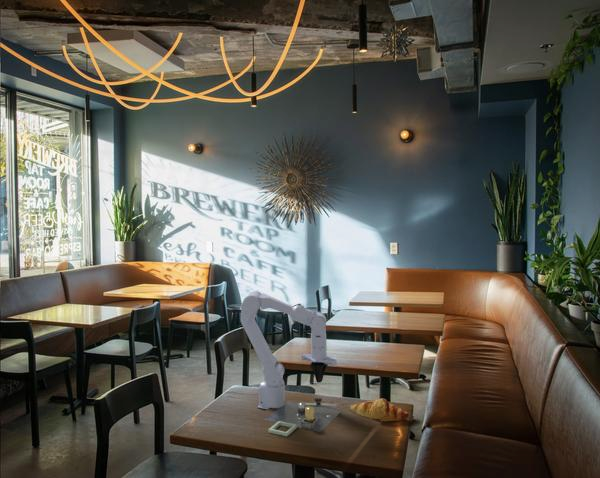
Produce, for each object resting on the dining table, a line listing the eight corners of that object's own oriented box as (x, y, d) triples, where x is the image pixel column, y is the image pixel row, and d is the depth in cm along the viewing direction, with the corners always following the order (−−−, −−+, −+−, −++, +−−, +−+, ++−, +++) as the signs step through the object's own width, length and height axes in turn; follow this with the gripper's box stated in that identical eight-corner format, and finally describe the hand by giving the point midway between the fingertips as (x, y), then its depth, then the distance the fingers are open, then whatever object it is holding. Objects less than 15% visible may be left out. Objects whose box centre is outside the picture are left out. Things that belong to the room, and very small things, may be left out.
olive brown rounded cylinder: (303, 426, 167) (303, 409, 167) (307, 422, 170) (307, 405, 170) (311, 427, 166) (311, 410, 166) (315, 424, 169) (315, 407, 168)
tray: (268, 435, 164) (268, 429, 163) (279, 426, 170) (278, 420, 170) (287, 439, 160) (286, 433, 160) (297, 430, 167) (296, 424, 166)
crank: (297, 412, 178) (297, 399, 178) (298, 409, 181) (298, 396, 181) (336, 413, 177) (335, 400, 176) (336, 410, 179) (336, 397, 179)
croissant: (348, 424, 178) (344, 409, 174) (355, 402, 186) (351, 387, 182) (407, 433, 170) (405, 417, 166) (411, 409, 177) (409, 394, 174)
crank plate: (263, 422, 173) (263, 414, 173) (288, 403, 189) (288, 396, 189) (320, 434, 163) (320, 426, 163) (341, 413, 179) (341, 406, 179)
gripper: (296, 345, 184) (297, 381, 185) (329, 351, 176) (330, 388, 177) (307, 340, 190) (308, 375, 191) (339, 346, 181) (340, 382, 182)
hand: (319, 381), depth 184 cm, fingers closed
